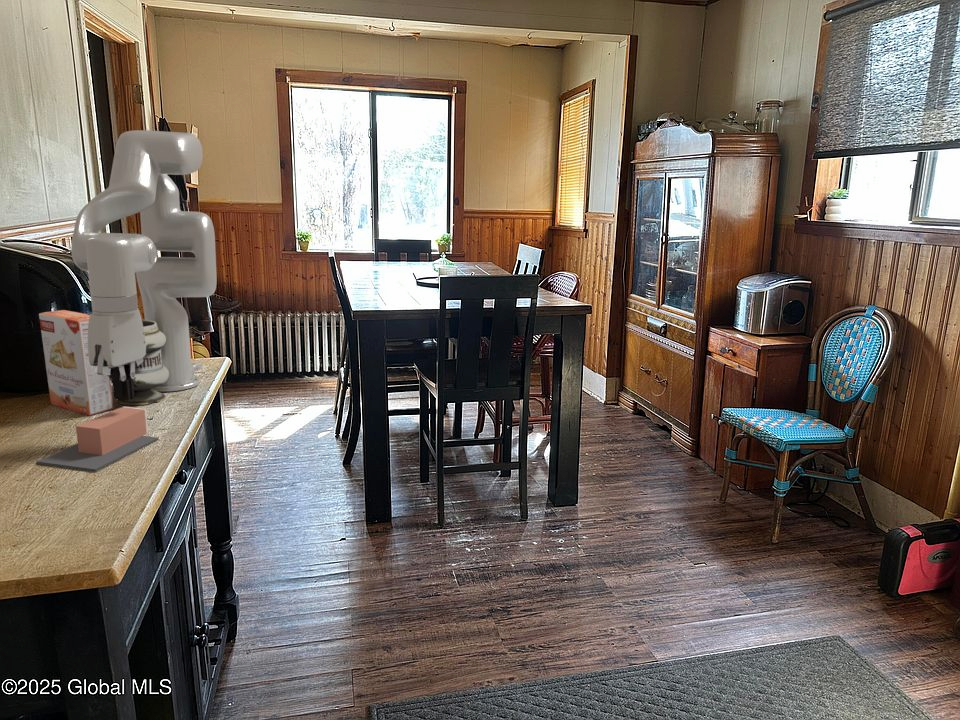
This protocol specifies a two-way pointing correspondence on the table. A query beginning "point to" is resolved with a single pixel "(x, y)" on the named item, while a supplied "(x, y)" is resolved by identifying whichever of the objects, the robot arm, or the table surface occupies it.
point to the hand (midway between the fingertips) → (124, 398)
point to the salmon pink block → (111, 430)
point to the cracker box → (72, 364)
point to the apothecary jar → (149, 369)
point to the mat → (94, 456)
